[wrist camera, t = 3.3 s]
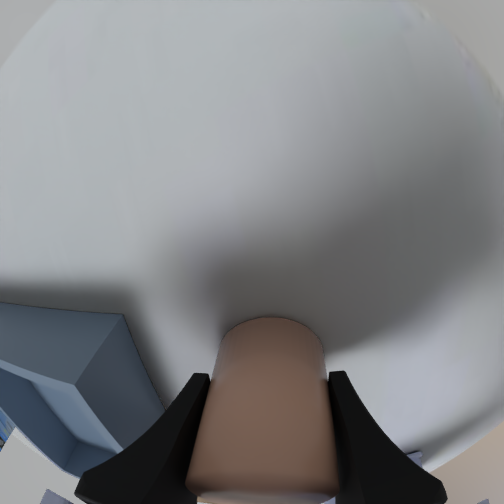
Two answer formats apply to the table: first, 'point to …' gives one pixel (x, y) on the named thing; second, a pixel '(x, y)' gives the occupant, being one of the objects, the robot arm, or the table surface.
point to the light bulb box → (5, 429)
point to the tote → (73, 384)
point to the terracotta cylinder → (266, 420)
